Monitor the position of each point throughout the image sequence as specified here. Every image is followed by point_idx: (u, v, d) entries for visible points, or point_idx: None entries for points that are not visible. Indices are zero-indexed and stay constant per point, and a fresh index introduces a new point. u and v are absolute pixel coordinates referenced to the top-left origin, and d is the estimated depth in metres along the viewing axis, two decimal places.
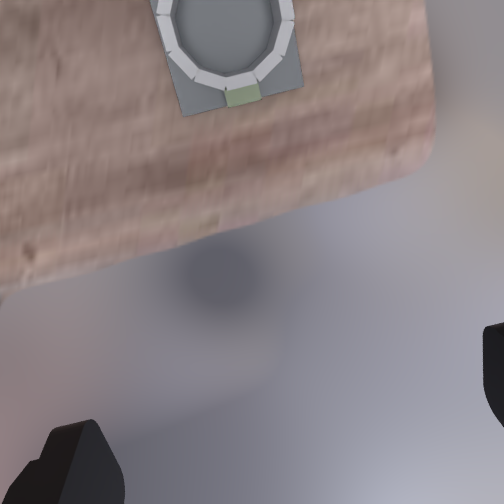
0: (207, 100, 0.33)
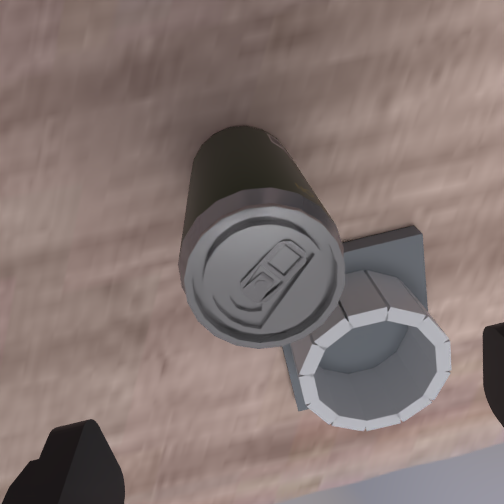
0: None
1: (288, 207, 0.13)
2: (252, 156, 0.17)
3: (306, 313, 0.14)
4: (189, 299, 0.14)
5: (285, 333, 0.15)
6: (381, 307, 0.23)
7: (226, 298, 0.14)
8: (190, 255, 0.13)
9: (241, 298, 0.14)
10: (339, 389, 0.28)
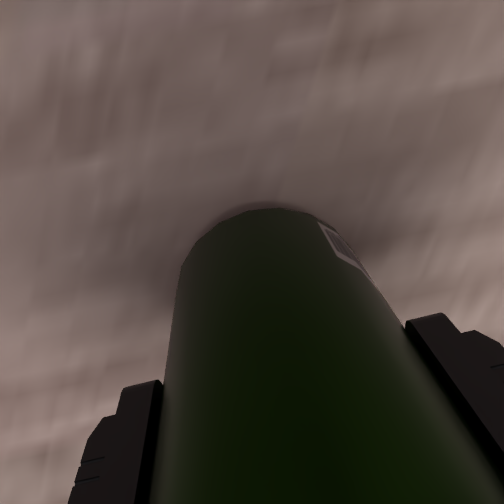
0: None
1: None
2: (325, 360, 0.06)
3: None
4: None
5: None
6: None
7: None
8: None
9: None
10: None
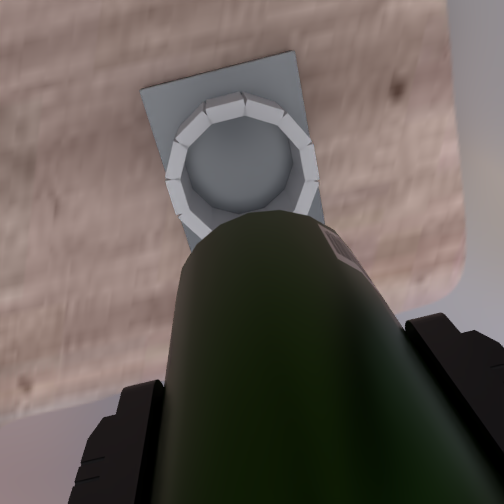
0: None
1: None
2: (325, 363, 0.06)
3: None
4: None
5: None
6: (238, 100, 0.23)
7: None
8: None
9: None
10: (222, 219, 0.28)
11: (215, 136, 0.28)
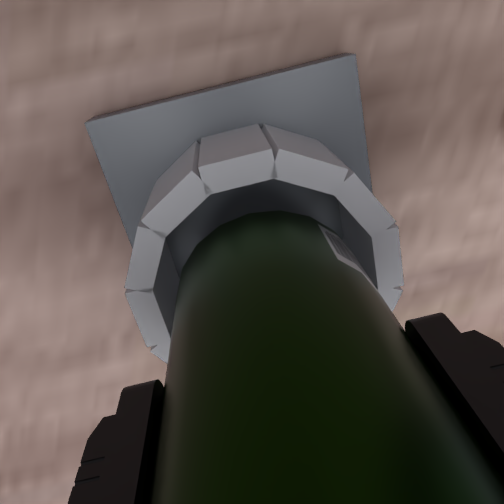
0: None
1: None
2: (326, 364, 0.06)
3: None
4: None
5: None
6: (262, 150, 0.12)
7: None
8: None
9: None
10: None
11: (216, 197, 0.17)
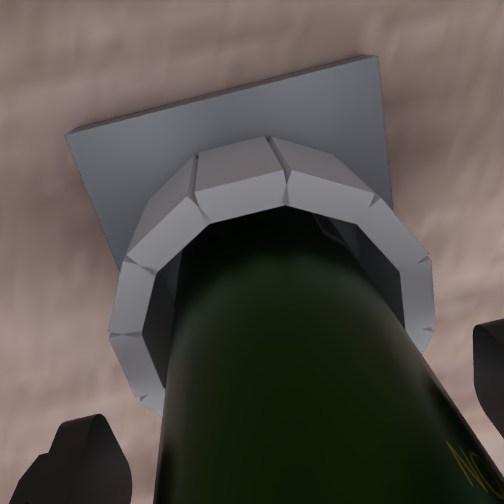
0: None
1: None
2: (311, 314, 0.08)
3: None
4: None
5: None
6: (271, 172, 0.10)
7: None
8: None
9: None
10: None
11: None
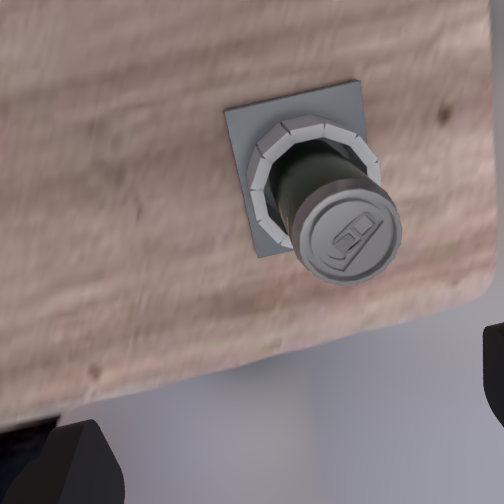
0: None
1: (369, 190, 0.21)
2: (332, 160, 0.25)
3: (374, 261, 0.22)
4: (301, 249, 0.21)
5: (358, 276, 0.23)
6: (318, 124, 0.27)
7: (323, 250, 0.22)
8: (306, 219, 0.21)
9: (332, 251, 0.22)
10: None
11: None
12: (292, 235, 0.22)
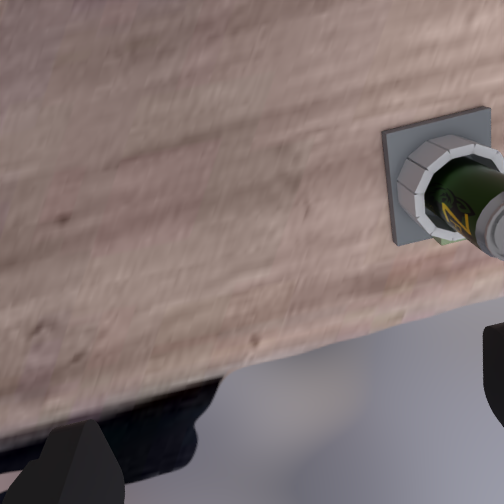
0: (417, 234, 0.44)
1: None
2: (491, 171, 0.34)
3: None
4: (487, 236, 0.31)
5: None
6: (470, 144, 0.36)
7: (501, 237, 0.31)
8: (494, 216, 0.30)
9: None
10: (431, 220, 0.41)
11: None
12: (476, 227, 0.31)
